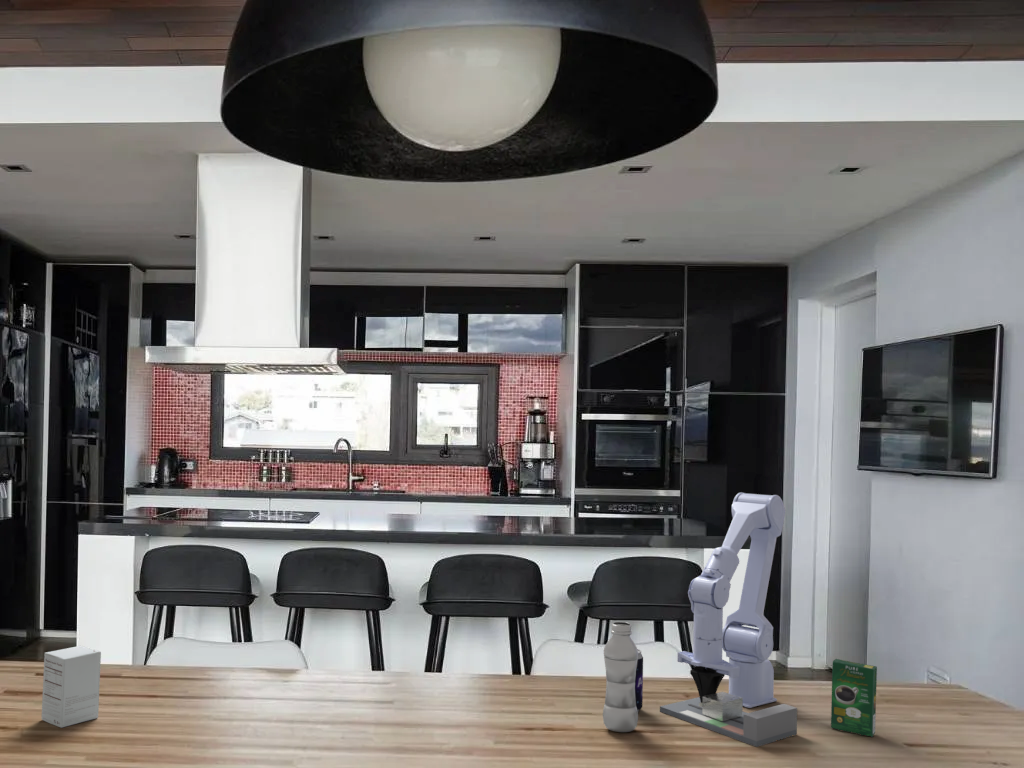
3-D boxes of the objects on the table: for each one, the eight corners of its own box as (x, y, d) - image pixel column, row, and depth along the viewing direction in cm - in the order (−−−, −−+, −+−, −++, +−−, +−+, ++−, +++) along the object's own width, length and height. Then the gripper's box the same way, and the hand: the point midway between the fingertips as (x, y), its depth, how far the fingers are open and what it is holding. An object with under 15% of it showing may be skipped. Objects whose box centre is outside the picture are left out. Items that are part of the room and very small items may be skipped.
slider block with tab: (722, 709, 178) (722, 691, 178) (742, 715, 174) (742, 697, 174) (690, 717, 172) (690, 699, 172) (710, 724, 168) (710, 705, 168)
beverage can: (641, 715, 176) (642, 655, 177) (613, 713, 177) (614, 652, 178) (643, 707, 182) (643, 648, 182) (615, 705, 183) (616, 646, 183)
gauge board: (699, 701, 186) (699, 677, 187) (796, 734, 167) (796, 707, 167) (659, 711, 179) (660, 686, 179) (756, 746, 160) (756, 718, 160)
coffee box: (877, 734, 168) (877, 664, 169) (874, 738, 166) (874, 667, 167) (834, 725, 173) (834, 657, 174) (830, 729, 171) (830, 660, 172)
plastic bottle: (633, 738, 163) (635, 628, 164) (598, 733, 165) (600, 625, 166) (641, 727, 169) (642, 622, 170) (606, 722, 171) (608, 618, 172)
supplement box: (78, 710, 171) (81, 644, 172) (99, 718, 167) (102, 650, 167) (39, 720, 165) (43, 651, 166) (60, 728, 161) (64, 658, 161)
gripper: (667, 632, 181) (666, 699, 181) (723, 647, 170) (722, 719, 169) (691, 628, 185) (690, 694, 185) (746, 642, 174) (746, 712, 173)
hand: (707, 705), depth 177 cm, fingers closed
